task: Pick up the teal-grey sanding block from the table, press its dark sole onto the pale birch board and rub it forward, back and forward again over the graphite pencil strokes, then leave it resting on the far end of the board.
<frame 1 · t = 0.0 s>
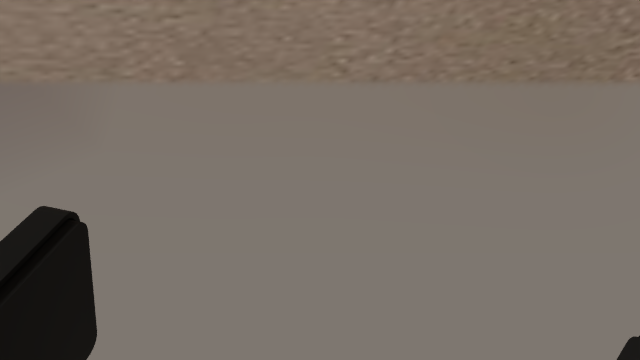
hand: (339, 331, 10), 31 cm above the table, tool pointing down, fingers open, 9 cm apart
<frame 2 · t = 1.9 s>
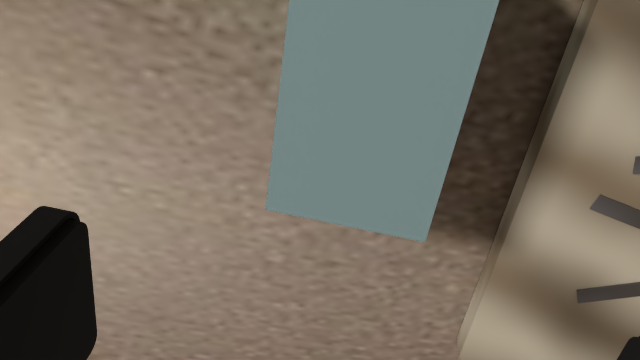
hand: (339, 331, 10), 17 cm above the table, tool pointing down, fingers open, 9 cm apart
sanding block: (380, 39, 24), on the table
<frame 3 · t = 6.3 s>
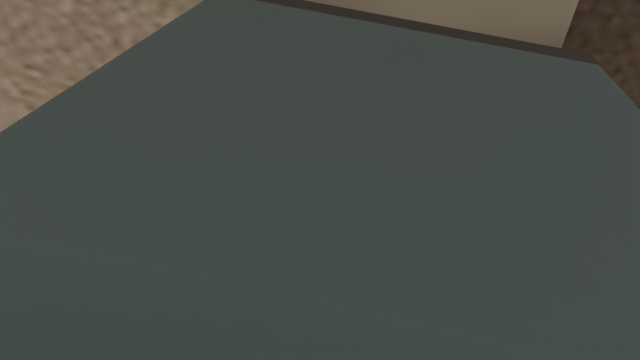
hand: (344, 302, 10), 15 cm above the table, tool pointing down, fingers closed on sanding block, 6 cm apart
birch board: (357, 176, 26), on the table
sanding block: (351, 257, 12), point 14 cm above the table, touching gripper
when the fingers open (2 cm above the table, at t = 14.4 s): sanding block stays where it is, resting on birch board.
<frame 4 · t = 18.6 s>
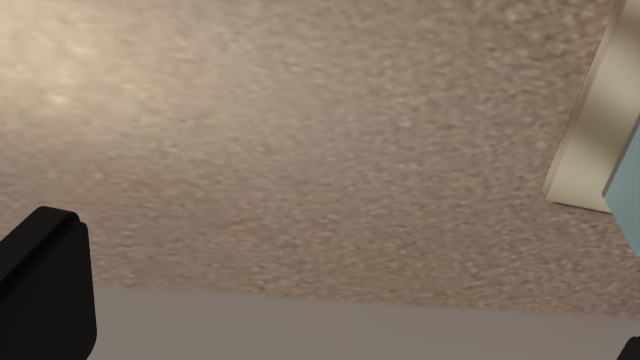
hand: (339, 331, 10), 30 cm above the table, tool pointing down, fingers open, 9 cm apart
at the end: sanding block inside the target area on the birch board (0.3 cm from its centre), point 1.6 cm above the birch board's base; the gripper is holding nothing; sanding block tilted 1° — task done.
